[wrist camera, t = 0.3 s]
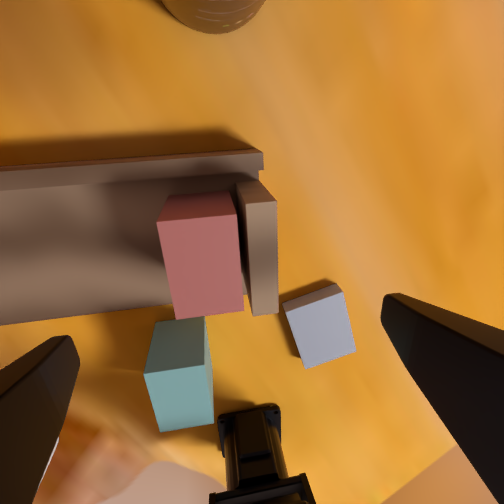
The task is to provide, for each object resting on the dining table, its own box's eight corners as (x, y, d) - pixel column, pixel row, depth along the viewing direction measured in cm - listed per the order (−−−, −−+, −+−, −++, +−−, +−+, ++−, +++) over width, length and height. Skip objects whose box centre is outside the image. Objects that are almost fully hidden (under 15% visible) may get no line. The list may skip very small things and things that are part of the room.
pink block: (235, 268, 22) (244, 310, 17) (182, 274, 22) (176, 319, 17) (228, 190, 20) (236, 214, 15) (168, 195, 19) (156, 222, 14)
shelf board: (262, 288, 24) (279, 338, 19) (-58, 328, 22) (-148, 400, 16) (255, 148, 20) (276, 160, 14) (-154, 177, 17) (-326, 206, 11)
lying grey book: (347, 338, 29) (356, 351, 27) (299, 355, 29) (305, 369, 27) (334, 280, 26) (342, 291, 24) (280, 300, 26) (285, 312, 24)
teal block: (212, 367, 27) (214, 423, 22) (168, 374, 27) (160, 432, 22) (204, 315, 25) (204, 364, 20) (155, 321, 24) (143, 374, 19)
